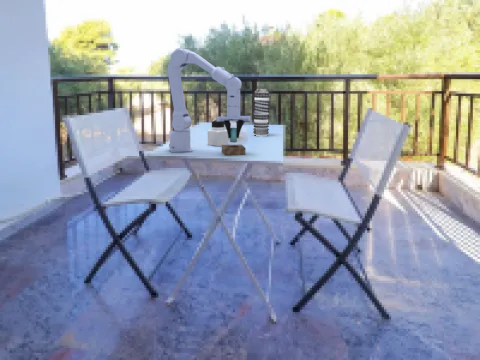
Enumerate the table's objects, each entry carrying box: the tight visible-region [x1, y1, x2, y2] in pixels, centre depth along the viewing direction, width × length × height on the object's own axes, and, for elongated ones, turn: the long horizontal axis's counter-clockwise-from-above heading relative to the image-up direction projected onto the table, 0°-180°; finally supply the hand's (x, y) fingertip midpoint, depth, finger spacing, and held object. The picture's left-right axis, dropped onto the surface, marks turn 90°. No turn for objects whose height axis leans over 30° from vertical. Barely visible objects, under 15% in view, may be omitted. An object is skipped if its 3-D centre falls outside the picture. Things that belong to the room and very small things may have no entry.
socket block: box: [221, 143, 247, 156], centre depth 205 cm, size 9×9×3 cm
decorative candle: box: [252, 88, 271, 137], centre depth 255 cm, size 9×9×25 cm
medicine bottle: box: [207, 119, 229, 147], centre depth 225 cm, size 7×7×12 cm
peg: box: [229, 127, 238, 143], centre depth 204 cm, size 3×3×6 cm
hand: (233, 137), depth 204 cm, fingers closed on peg, 3 cm apart
